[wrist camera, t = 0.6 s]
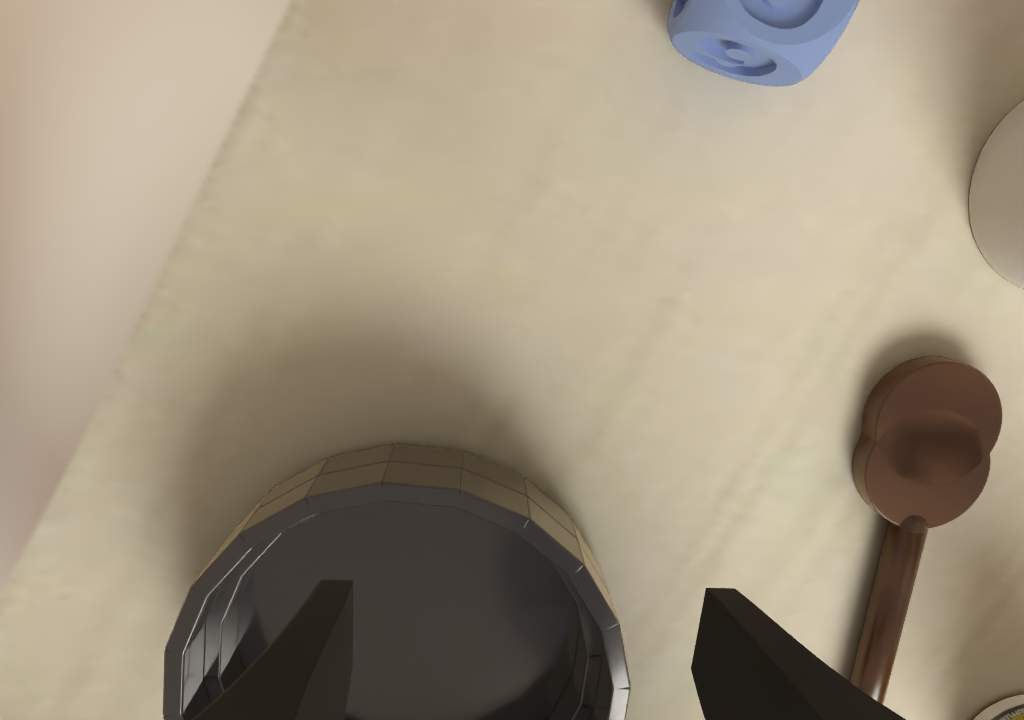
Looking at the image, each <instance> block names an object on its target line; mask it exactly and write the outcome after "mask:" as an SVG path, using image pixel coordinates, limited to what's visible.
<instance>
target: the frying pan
mask: <svg viewBox="0 0 1024 720" xmlns="http://www.w3.org/2000/svg"><path fill="white" fill-rule="evenodd" d="M321 580H353V667H352V674H351V681H350V688H349V694H348V701H347V707H346V714H345V718H344V720H625V717H626V712H627V706H628V700H629V695H630V679H629V673H628V668H627V662H626V657H625V651H624V646H623V640H622V635H621V629H620V624H619V622H618V619H617V616H616V613H615V610H614V607H613V604H612V601H611V598H610V594H609V591H608V588H607V585H606V582H605V579H604V576H603V573H602V570H601V568H600V566H599V564H598V563H597V561H596V559H595V557H594V556H593V554H592V552H591V551H590V549H589V547H588V545H587V544H586V542H585V540H584V539H583V537H582V535H581V533H580V532H579V530H578V528H577V526H576V525H575V523H574V521H573V520H572V519H571V518H570V516H569V515H568V514H567V513H566V512H564V511H563V510H562V509H561V508H560V507H559V506H557V505H556V504H555V503H554V502H553V501H552V500H551V499H549V498H548V497H547V496H546V495H545V494H544V493H542V492H541V491H540V490H539V489H538V488H537V487H536V486H534V485H533V484H532V483H531V482H530V481H529V480H527V479H526V478H525V477H523V476H522V475H520V474H518V473H515V472H513V471H511V470H508V469H506V468H504V467H501V466H499V465H497V464H494V463H492V462H489V461H487V460H485V459H482V458H480V457H478V456H475V455H473V454H471V453H468V452H466V451H462V450H456V449H446V448H436V447H426V446H416V445H407V444H396V445H395V444H392V445H387V446H382V447H377V448H372V449H367V450H362V451H357V452H352V453H347V454H342V455H337V456H332V457H330V458H326V459H325V460H323V461H321V462H319V463H317V464H316V465H314V466H312V467H310V468H308V469H307V470H305V471H303V472H301V473H299V474H298V475H296V476H294V477H292V478H290V479H289V480H287V481H285V482H283V483H281V484H279V485H278V486H276V487H274V488H273V489H272V490H270V491H269V492H268V493H267V495H266V496H265V497H264V498H263V499H262V500H261V501H260V502H259V503H258V504H257V505H256V507H255V508H254V509H253V510H252V511H251V512H250V513H249V514H248V515H247V516H246V518H245V519H244V520H243V521H242V522H241V523H240V524H239V525H238V526H237V527H236V528H235V530H234V531H233V532H232V533H231V534H230V535H229V537H228V538H227V539H226V541H225V542H224V543H223V544H222V546H221V547H220V548H219V550H218V551H217V552H216V554H215V555H214V557H213V558H212V559H211V560H210V562H209V563H208V564H207V566H206V567H205V568H204V569H203V571H202V572H201V573H200V575H199V576H198V577H197V579H196V580H195V581H194V583H193V584H192V586H191V587H190V589H189V591H188V594H187V596H186V598H185V601H184V603H183V606H182V608H181V611H180V613H179V615H178V618H177V620H176V623H175V625H174V628H173V630H172V632H171V635H170V637H169V640H168V642H167V645H166V647H165V653H164V691H163V715H164V720H192V719H193V718H195V717H196V716H197V715H198V714H200V713H201V712H202V711H203V710H204V709H205V708H206V707H208V706H209V705H210V704H211V703H212V702H213V701H214V700H216V699H217V698H218V697H219V696H220V695H221V694H222V693H223V692H224V691H225V690H226V689H227V688H228V687H229V686H231V685H232V684H233V683H234V682H235V681H236V680H237V679H238V678H239V677H240V676H241V675H242V674H243V673H244V671H245V670H246V669H247V668H248V667H249V666H250V665H251V664H252V663H253V662H254V661H255V660H256V659H257V658H258V657H259V656H260V655H261V654H262V653H263V651H264V650H265V649H266V648H267V647H268V646H269V645H270V644H271V642H272V641H273V640H274V639H275V638H276V636H277V635H278V634H279V633H280V632H281V631H282V629H283V628H284V627H285V626H286V625H287V623H288V622H289V621H290V620H291V618H292V617H293V616H294V615H295V613H296V612H297V611H298V609H299V608H300V607H301V605H302V604H303V603H304V601H305V600H306V599H307V597H308V596H309V595H310V593H311V592H312V590H313V589H314V587H315V586H316V584H318V583H319V582H320V581H321Z"/></svg>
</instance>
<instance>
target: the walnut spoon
mask: <svg viewBox="0 0 1024 720" xmlns="http://www.w3.org/2000/svg"><path fill="white" fill-rule="evenodd" d="M1001 424H1002V407H1001V402H1000V398H999V395H998V393H997V391H996V389H995V387H994V386H993V384H992V383H991V382H990V380H989V379H988V378H987V377H986V376H985V375H984V374H983V373H981V372H980V371H979V370H977V369H975V368H973V367H971V366H969V365H966V364H963V363H960V362H957V361H954V360H951V359H948V358H943V357H922V358H918V359H914V360H911V361H908V362H906V363H904V364H901V365H899V366H898V367H896V368H895V369H893V370H892V371H890V372H889V373H888V374H887V375H885V376H884V377H883V378H882V380H881V381H880V382H879V383H878V384H877V385H876V387H875V388H874V390H873V391H872V393H871V395H870V397H869V399H868V401H867V403H866V407H865V410H864V415H863V435H862V436H861V438H860V440H859V442H858V444H857V447H856V450H855V453H854V458H853V478H854V482H855V485H856V488H857V490H858V492H859V494H860V496H861V497H862V499H863V500H864V501H865V502H866V503H867V504H868V505H869V506H870V507H871V508H872V509H873V510H875V511H876V512H877V513H879V514H880V515H881V516H882V517H884V518H885V519H887V520H888V521H889V525H888V529H887V533H886V537H885V541H884V545H883V549H882V553H881V557H880V561H879V566H878V570H877V574H876V578H875V582H874V586H873V590H872V594H871V598H870V602H869V607H868V611H867V615H866V619H865V623H864V627H863V631H862V635H861V639H860V643H859V648H858V652H857V656H856V660H855V664H854V668H853V672H852V676H851V680H850V683H852V684H853V685H854V686H856V687H857V688H859V689H860V690H861V691H863V692H864V693H866V694H867V695H869V696H870V697H872V698H873V699H875V700H876V701H878V702H879V703H881V704H882V705H883V703H884V699H885V695H886V691H887V687H888V683H889V679H890V676H891V672H892V668H893V664H894V660H895V656H896V652H897V648H898V644H899V640H900V637H901V633H902V629H903V625H904V621H905V617H906V613H907V609H908V605H909V601H910V598H911V594H912V590H913V586H914V582H915V578H916V574H917V570H918V566H919V562H920V558H921V555H922V551H923V547H924V543H925V539H926V535H927V531H928V528H932V527H937V526H940V525H943V524H945V523H948V522H950V521H952V520H954V519H955V518H957V517H958V516H960V515H961V514H963V513H964V512H965V511H966V510H967V509H968V508H969V507H970V506H971V505H972V504H973V503H974V502H975V501H976V499H977V498H978V497H979V495H980V494H981V492H982V490H983V488H984V486H985V484H986V481H987V478H988V475H989V470H990V452H991V451H992V449H993V448H994V446H995V443H996V441H997V439H998V436H999V433H1000V429H1001Z"/></svg>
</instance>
